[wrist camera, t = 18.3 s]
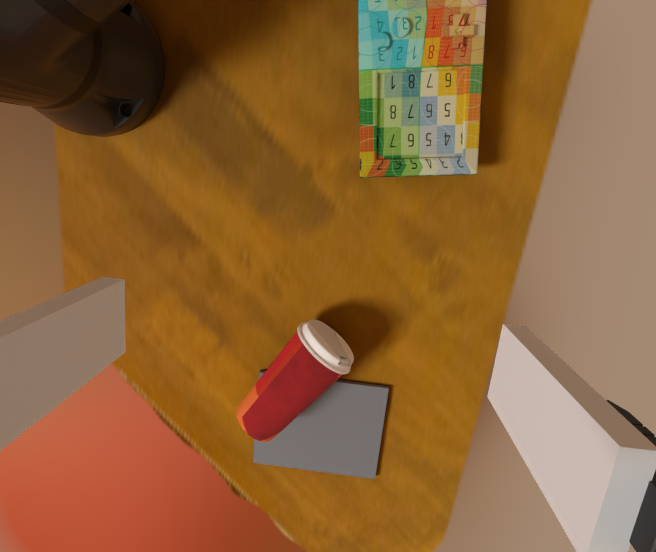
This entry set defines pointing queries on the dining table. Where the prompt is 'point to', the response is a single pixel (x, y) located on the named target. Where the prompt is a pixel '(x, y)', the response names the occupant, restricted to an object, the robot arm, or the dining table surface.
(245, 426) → the paper cup
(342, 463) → the mat
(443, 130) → the puzzle game
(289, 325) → the dining table surface
